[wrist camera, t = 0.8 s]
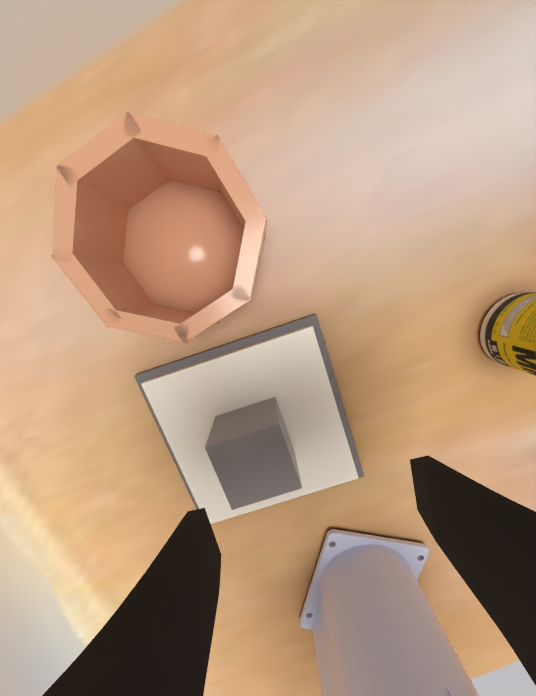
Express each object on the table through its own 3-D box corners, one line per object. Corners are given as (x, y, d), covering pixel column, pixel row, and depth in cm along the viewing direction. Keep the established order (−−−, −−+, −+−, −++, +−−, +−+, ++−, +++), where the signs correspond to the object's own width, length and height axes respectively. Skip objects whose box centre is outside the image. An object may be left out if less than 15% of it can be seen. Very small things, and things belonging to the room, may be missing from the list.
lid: (355, 472, 20) (380, 520, 16) (208, 518, 20) (195, 576, 16) (310, 324, 17) (326, 336, 13) (144, 380, 18) (111, 408, 14)
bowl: (244, 335, 18) (239, 354, 13) (108, 306, 17) (48, 315, 12) (274, 192, 16) (280, 151, 11) (123, 154, 15) (59, 92, 10)
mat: (361, 471, 20) (364, 476, 20) (205, 520, 21) (204, 525, 20) (314, 313, 18) (316, 314, 17) (137, 373, 18) (134, 376, 18)
